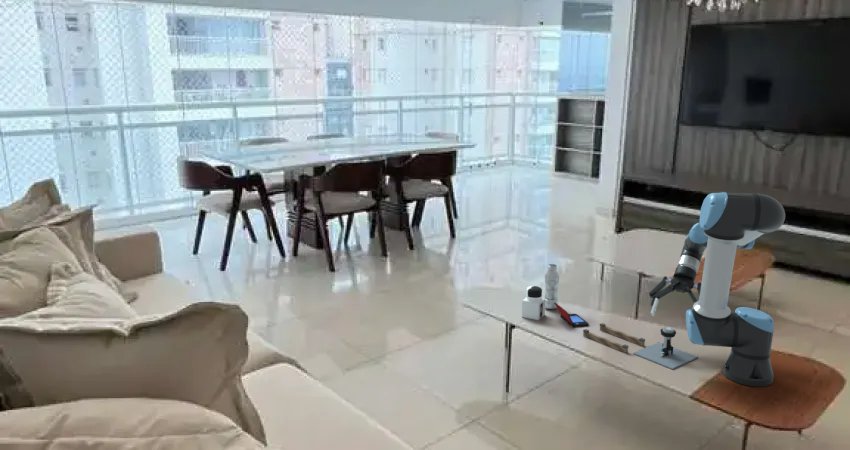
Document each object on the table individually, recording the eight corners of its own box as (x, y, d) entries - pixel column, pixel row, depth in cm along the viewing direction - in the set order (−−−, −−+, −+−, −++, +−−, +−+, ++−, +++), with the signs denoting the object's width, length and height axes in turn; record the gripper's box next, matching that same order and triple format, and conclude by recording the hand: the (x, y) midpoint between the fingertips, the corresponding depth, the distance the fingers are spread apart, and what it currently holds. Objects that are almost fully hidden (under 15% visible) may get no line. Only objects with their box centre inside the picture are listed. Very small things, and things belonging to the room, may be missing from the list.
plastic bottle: (542, 310, 269) (544, 267, 265) (543, 305, 276) (545, 262, 271) (557, 311, 268) (559, 268, 263) (558, 306, 274) (560, 263, 270)
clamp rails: (644, 345, 232) (645, 339, 232) (625, 353, 226) (625, 346, 225) (602, 329, 248) (602, 323, 247) (582, 336, 241) (583, 329, 241)
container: (545, 314, 264) (546, 286, 261) (538, 320, 257) (539, 291, 255) (528, 311, 268) (529, 283, 265) (521, 317, 261) (522, 288, 259)
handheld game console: (589, 326, 251) (590, 309, 250) (565, 328, 249) (566, 311, 248) (576, 315, 263) (576, 299, 262) (552, 317, 261) (553, 301, 260)
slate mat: (697, 357, 221) (697, 356, 221) (672, 369, 212) (672, 368, 212) (658, 343, 234) (658, 342, 234) (633, 353, 225) (633, 352, 225)
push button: (667, 359, 219) (669, 333, 217) (653, 354, 223) (655, 328, 221) (676, 354, 223) (679, 328, 221) (663, 349, 227) (665, 324, 225)
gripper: (722, 281, 227) (708, 331, 219) (655, 269, 243) (639, 315, 235) (720, 271, 222) (705, 321, 214) (651, 259, 238) (635, 306, 229)
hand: (670, 318), depth 224 cm, fingers open, 13 cm apart
